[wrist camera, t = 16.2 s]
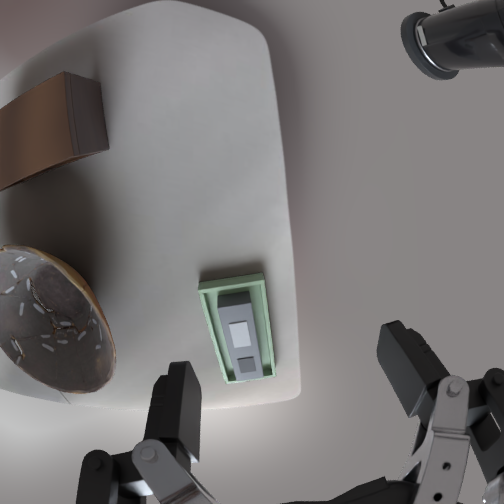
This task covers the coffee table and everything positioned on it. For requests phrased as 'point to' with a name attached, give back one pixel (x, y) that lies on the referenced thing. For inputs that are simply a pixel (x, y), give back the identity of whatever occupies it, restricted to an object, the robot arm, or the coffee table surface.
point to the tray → (260, 313)
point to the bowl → (53, 322)
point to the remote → (240, 334)
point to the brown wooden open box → (50, 128)
